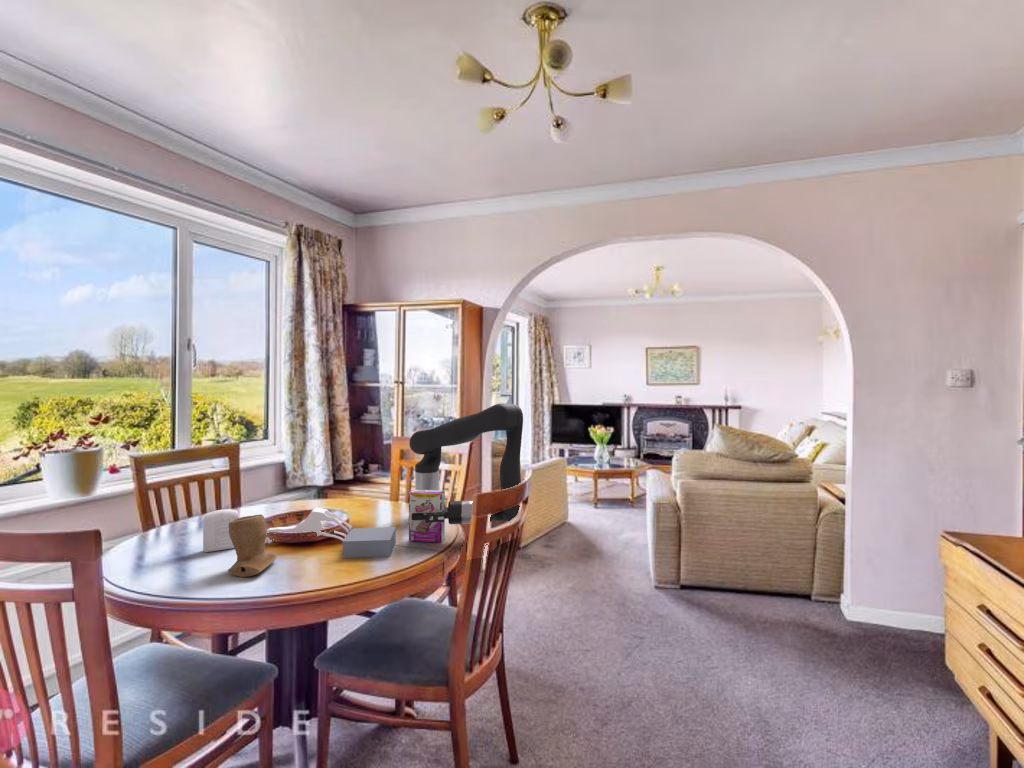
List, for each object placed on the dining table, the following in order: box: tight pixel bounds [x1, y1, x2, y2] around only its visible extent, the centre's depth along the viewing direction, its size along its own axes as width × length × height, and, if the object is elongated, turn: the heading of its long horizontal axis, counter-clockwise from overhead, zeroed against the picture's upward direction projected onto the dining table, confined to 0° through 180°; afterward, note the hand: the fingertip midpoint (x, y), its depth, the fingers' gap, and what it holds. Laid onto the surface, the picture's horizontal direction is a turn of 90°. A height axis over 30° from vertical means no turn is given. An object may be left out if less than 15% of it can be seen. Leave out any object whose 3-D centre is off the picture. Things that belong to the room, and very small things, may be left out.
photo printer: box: [202, 508, 241, 553], centre depth 172 cm, size 10×4×12 cm, turn 123°
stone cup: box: [227, 514, 277, 578], centre depth 154 cm, size 15×12×15 cm
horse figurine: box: [266, 507, 353, 545], centre depth 179 cm, size 5×16×25 cm
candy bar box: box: [408, 489, 446, 543], centre depth 180 cm, size 11×5×16 cm, turn 84°
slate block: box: [341, 526, 397, 559], centre depth 170 cm, size 14×14×5 cm
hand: (412, 513), depth 179 cm, fingers open, 7 cm apart
